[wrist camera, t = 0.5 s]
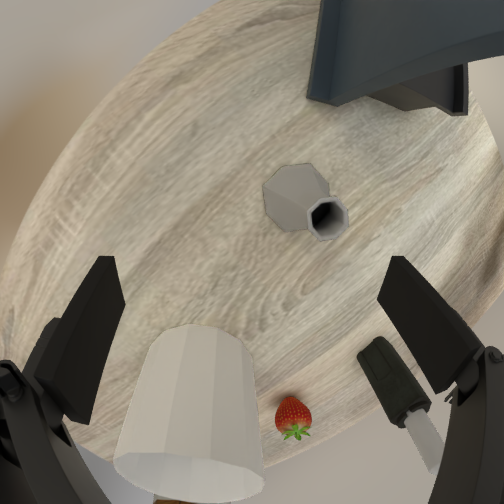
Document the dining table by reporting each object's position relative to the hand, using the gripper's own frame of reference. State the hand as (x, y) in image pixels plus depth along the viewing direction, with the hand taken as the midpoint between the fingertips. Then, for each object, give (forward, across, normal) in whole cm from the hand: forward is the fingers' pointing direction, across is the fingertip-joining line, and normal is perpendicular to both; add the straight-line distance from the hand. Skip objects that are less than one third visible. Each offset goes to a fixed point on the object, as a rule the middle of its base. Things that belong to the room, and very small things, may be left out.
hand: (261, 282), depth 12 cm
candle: (+12, +21, -22) cm, 33 cm away
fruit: (+11, +8, -31) cm, 34 cm away
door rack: (+19, +15, +16) cm, 29 cm away
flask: (+17, +6, -1) cm, 18 cm away
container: (+13, -5, -24) cm, 28 cm away
